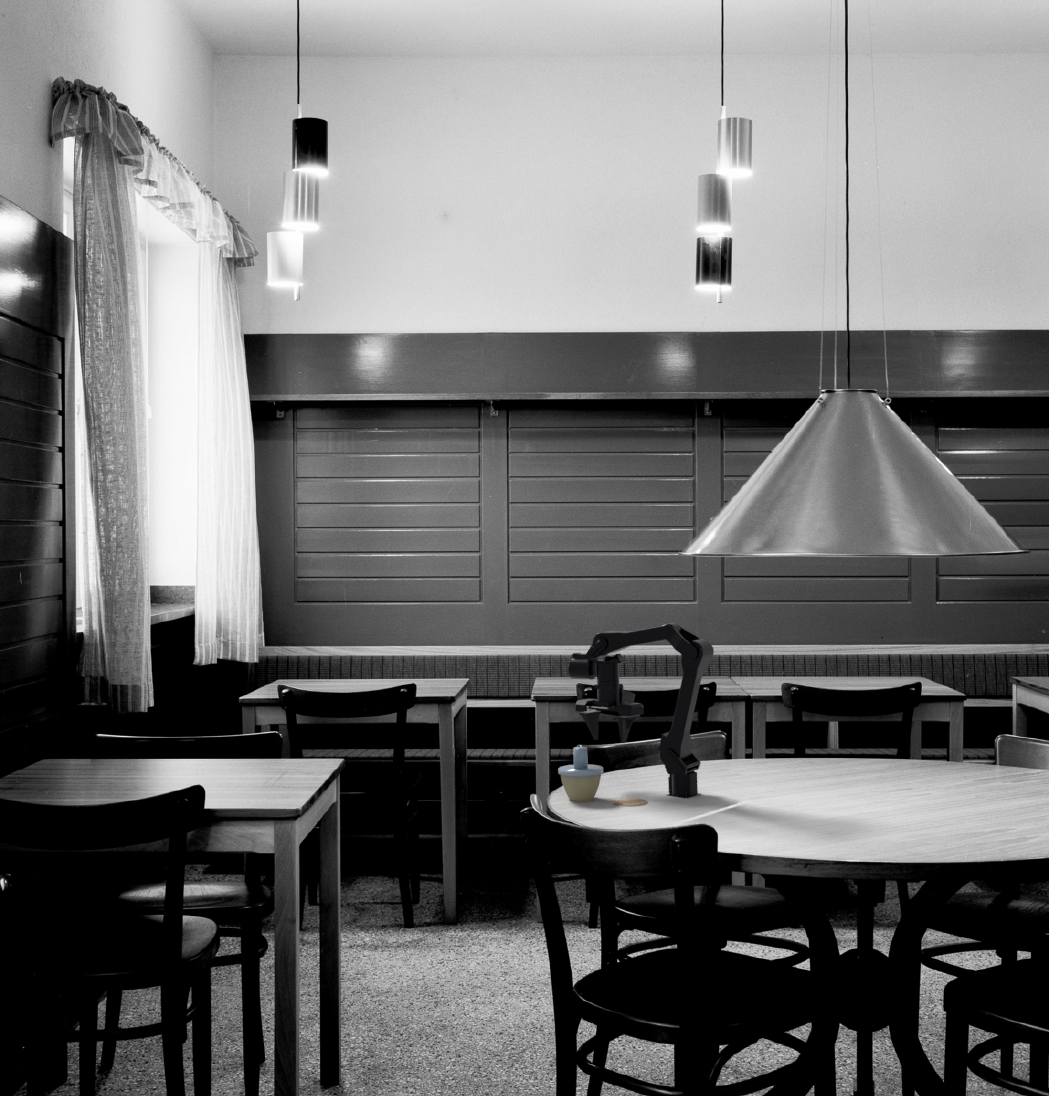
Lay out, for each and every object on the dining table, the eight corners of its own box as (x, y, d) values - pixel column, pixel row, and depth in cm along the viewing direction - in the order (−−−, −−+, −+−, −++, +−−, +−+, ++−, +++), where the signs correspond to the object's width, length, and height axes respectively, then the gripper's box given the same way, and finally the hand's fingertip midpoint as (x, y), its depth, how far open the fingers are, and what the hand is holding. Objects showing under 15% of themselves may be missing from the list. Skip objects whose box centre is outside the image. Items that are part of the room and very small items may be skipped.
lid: (612, 771, 281) (611, 747, 281) (583, 778, 273) (582, 753, 273) (578, 766, 289) (578, 742, 289) (549, 773, 281) (548, 748, 281)
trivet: (656, 803, 276) (656, 801, 276) (632, 810, 269) (632, 807, 269) (627, 799, 282) (627, 796, 282) (603, 805, 275) (603, 802, 275)
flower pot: (587, 807, 274) (586, 777, 274) (553, 802, 280) (552, 773, 280) (609, 799, 282) (608, 770, 282) (576, 795, 288) (575, 767, 288)
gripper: (656, 679, 293) (657, 740, 293) (600, 675, 306) (602, 733, 306) (628, 683, 285) (630, 746, 285) (573, 679, 298) (574, 739, 298)
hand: (609, 740), depth 294 cm, fingers open, 9 cm apart
